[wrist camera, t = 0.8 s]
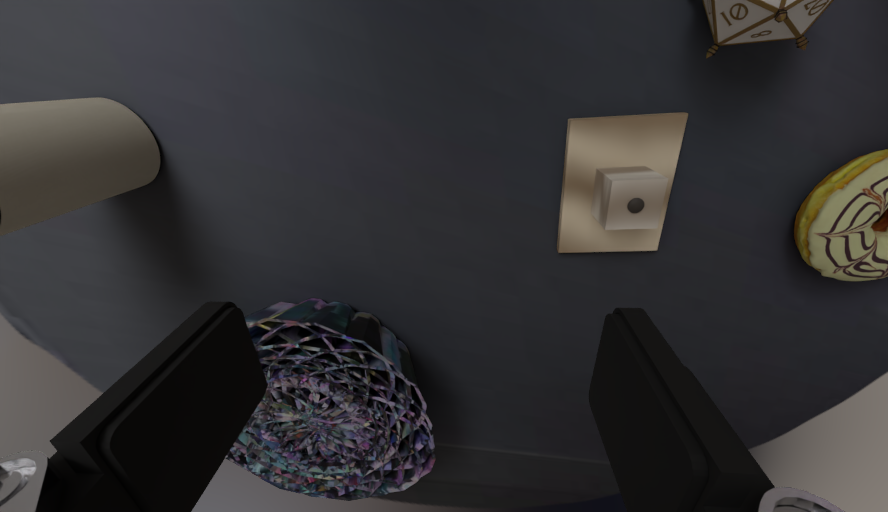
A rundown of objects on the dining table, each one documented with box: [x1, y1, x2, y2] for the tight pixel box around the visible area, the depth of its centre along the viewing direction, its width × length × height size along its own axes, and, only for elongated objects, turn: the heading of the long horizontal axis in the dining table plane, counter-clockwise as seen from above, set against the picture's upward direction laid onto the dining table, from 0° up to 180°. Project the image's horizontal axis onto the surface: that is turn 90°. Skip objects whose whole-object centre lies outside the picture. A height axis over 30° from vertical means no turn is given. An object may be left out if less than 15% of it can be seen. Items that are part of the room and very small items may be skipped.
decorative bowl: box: [225, 298, 436, 501], centre depth 41 cm, size 26×28×10 cm
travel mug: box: [0, 98, 160, 236], centre depth 25 cm, size 8×8×18 cm
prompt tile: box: [557, 112, 688, 253], centre depth 30 cm, size 12×9×5 cm
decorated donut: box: [794, 149, 888, 281], centre depth 30 cm, size 11×12×4 cm
